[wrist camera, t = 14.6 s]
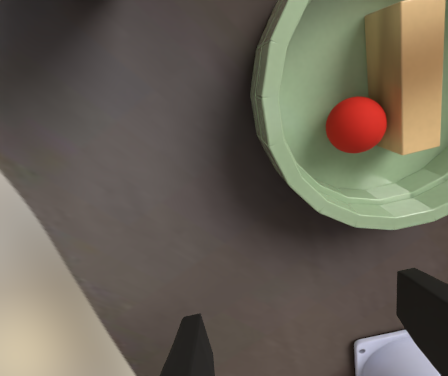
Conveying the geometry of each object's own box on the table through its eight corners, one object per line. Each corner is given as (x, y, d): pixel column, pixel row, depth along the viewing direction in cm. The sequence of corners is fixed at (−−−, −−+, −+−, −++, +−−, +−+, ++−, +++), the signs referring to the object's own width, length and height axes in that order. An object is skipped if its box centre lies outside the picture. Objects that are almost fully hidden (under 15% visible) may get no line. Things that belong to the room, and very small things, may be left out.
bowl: (479, 175, 19) (545, 198, 16) (269, 220, 20) (284, 253, 16) (515, -98, 14) (627, -162, 10) (227, -33, 14) (235, -73, 11)
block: (402, 135, 17) (440, 146, 15) (370, 144, 17) (402, 156, 15) (401, 5, 15) (446, -11, 12) (363, 15, 15) (400, 1, 12)
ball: (331, 127, 18) (356, 166, 17) (306, 117, 16) (332, 161, 15) (375, 93, 16) (407, 133, 15) (353, 76, 14) (387, 122, 13)
